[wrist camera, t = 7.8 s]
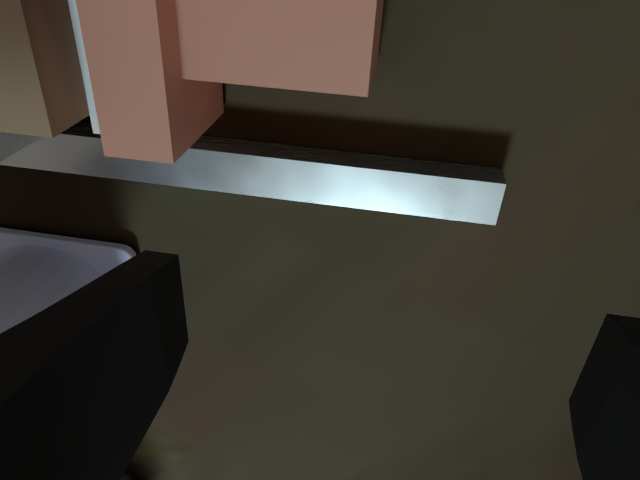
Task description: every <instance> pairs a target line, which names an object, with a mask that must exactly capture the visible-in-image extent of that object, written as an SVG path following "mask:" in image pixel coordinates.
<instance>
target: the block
mask: <svg viewBox="0 0 640 480" xmlns="http://www.w3.org/2000/svg"><path fill="white" fill-rule="evenodd" d="M89 115H90V114H89V109H88V104H87V98H86V93H85V88H84V83H83V78H82V72H81V67H80V62H79V57H78V52H77V46H76V41H75V36H74V31H73V26H72V21H71V15H70V10H69V5H68V0H0V132H5V133H13V134H22V135H31V136H40V137H49V138H54V137H55V136H57V135H58V134H60V133H62V132H63V131H65V130H66V129H68V128H70V127H71V126H73V125H74V124H76V123H78V122H79V121H81V120H82V119H84V118H86V117H87V116H89Z"/></svg>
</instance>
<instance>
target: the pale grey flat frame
mask: <svg viewBox="0 0 640 480" xmlns="http://www.w3.org/2000/svg"><path fill="white" fill-rule="evenodd" d="M0 165H5V166H13V167H22V168H30V169H38V170H46V171H54V172H63V173H71V174H79V175H87V176H95V177H104V178H112V179H120V180H128V181H136V182H145V183H153V184H161V185H169V186H177V187H186V188H194V189H202V190H210V191H218V192H227V193H235V194H243V195H251V196H259V197H268V198H276V199H284V200H292V201H300V202H309V203H317V204H325V205H333V206H341V207H350V208H358V209H366V210H374V211H383V212H391V213H399V214H407V215H415V216H424V217H432V218H440V219H448V220H456V221H465V222H473V223H481V224H489V225H496V222H497V218H498V214H499V210H500V207H501V203H502V199H503V195H504V191H505V187H506V181H505V178H504V174H503V171H502V168H494V167H485V166H476V165H467V164H457V163H448V162H439V161H430V160H421V159H412V158H403V157H394V156H384V155H375V154H366V153H357V152H348V151H339V150H330V149H321V148H312V147H302V146H293V145H284V144H275V143H266V142H257V141H248V140H239V139H229V138H220V137H211V136H202V135H201V136H200V137H199V139H198V140H197V141H196V142H195V143H194V144H193V145H192V146H191V147H190V148H189V149H188V150H187V151H186V152H185V153H184V154H183V155H182V156H181V157H180V158H179V159H178V160H177V161H176V162H175V163H174V164H169V163H160V162H152V161H143V160H135V159H126V158H118V157H109V156H104V151H103V145H102V140H101V135H100V134H95V133H93V129H92V124H91V123H84V122H78V123H76V124H74V125H73V126H71V127H70V128H68V129H66V130H65V131H63V132H62V133H60V134H58V135H57V136H55V137H54V138H49V137H40V136H31V135H22V134H13V133H5V132H0Z"/></svg>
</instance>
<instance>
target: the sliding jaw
mask: <svg viewBox="0 0 640 480" xmlns="http://www.w3.org/2000/svg"><path fill="white" fill-rule="evenodd" d="M383 4H384V0H68V5H69V10H70V15H71V21H72V26H73V31H74V36H75V41H76V46H77V52H78V57H79V62H80V67H81V72H82V78H83V83H84V88H85V93H86V98H87V104H88V109H89V114H90V119H91V124H92V129H93V133H95V134H100V135H101V140H102V145H103V151H104V156H109V157H118V158H126V159H135V160H143V161H152V162H160V163H169V164H174V163H175V162H176V161H177V160H178V159H179V158H180V157H181V156H182V155H183V154H184V153H185V152H186V151H187V150H188V149H189V148H190V147H191V146H192V145H193V144H194V143H195V142H196V141H197V140H198V139H199V137H200V136H201V135H202V134H203V133H204V132H205V131H206V130H207V129H208V128H209V127H210V126H211V125H212V124H213V123H214V122H215V121H216V120H217V119H218V118H219V117H220V116H221V115H222V114H223V113H224V106H223V87H222V83H229V84H239V85H249V86H259V87H270V88H280V89H290V90H301V91H311V92H321V93H331V94H342V95H352V96H362V97H368V94H369V91H370V88H371V84H372V81H373V78H374V75H375V71H376V68H377V63H378V53H379V43H380V33H381V24H382V14H383Z"/></svg>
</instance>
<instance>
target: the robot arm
mask: <svg viewBox="0 0 640 480" xmlns="http://www.w3.org/2000/svg"><path fill="white" fill-rule="evenodd" d="M187 344H188V333H187V325H186V316H185V308H184V299H183V291H182V282H181V274H180V265H179V257H178V255H176V254H169V253H161V252H154V251H147V250H145V251H143V252H142V253H140V254H138V255H136V253H135V251H134V250H133V249H132V248H131V247H129V246H127V245H124V244H118V243H111V242H103V241H96V240H89V239H81V238H74V237H67V236H59V235H52V234H45V233H37V232H30V231H23V230H16V229H8V228H1V227H0V480H120V479H121V477H122V475H123V473H124V471H125V470H126V468H127V466H128V464H129V462H130V461H131V459H132V457H133V455H134V454H135V452H136V450H137V448H138V446H139V445H140V443H141V441H142V439H143V437H144V436H145V434H146V432H147V430H148V428H149V427H150V425H151V423H152V421H153V419H154V417H155V416H156V414H157V412H158V410H159V408H160V407H161V405H162V403H163V401H164V399H165V397H166V395H167V393H168V392H169V389H170V387H171V384H172V382H173V380H174V377H175V375H176V372H177V370H178V367H179V365H180V362H181V360H182V357H183V354H184V352H185V349H186V346H187ZM569 406H570V414H571V421H572V428H573V435H574V441H575V447H576V453H577V459H578V463H579V467H580V471H581V474H582V478H583V480H640V318H634V317H627V316H620V315H613V314H607V315H606V317H605V319H604V322H603V324H602V326H601V328H600V331H599V333H598V335H597V338H596V340H595V342H594V344H593V347H592V349H591V351H590V354H589V356H588V358H587V360H586V363H585V365H584V367H583V370H582V372H581V374H580V376H579V379H578V381H577V383H576V386H575V388H574V390H573V392H572V395H571V397H570V399H569Z"/></svg>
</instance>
